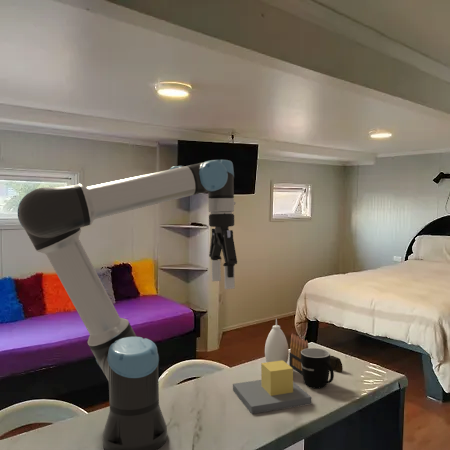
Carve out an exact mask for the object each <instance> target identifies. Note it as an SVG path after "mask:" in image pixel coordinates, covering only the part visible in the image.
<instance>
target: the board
mask: <svg viewBox="0 0 450 450" xmlns="http://www.w3.org/2000/svg"><path fill="white" fill-rule="evenodd" d="M232 391H233V392H234V394H235V395H236V396H237V397H238V399H239V400H240V401H241V403H242V404H243V405H244V406H245V408H246V409H247V411H249V413H250V415H253V414H255V415H256V414H260V413H265V412H272V410H273V411H279V410H284V408H285V409H291V408H297V407H300V406H301V407H302V406H307V405H312V396H311V395H310V394H308V393H307V391H305V390H304V389H303V388H301V387H300V386H299V385H298V384H297V383H296V382H295V381H293V392H292V393H286V394H279V395H273V396H270V394H269V393H268V392H267V391H266V390H265V389H264V388H263V387H262V381H261V379H257V380H250V381H244V382H236V383H232ZM290 407H291V408H290ZM278 409H279V410H278Z"/></svg>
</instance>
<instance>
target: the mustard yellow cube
mask: <svg viewBox="0 0 450 450" xmlns="http://www.w3.org/2000/svg"><path fill="white" fill-rule="evenodd" d="M260 365H261V367H260V369H261V371H260V372H261V374H260V376H261V379H260V380H261V381H262V387H263V388H264V389H265V390H266V391H267V392H268V393H269V394H270V396H273V395H279V394H286V393H292V392H293V382H294V369H293V368H292V367H291V366H289V364H288V362H287V363H285V362H284V361H283V360H282V361H274V362H266V361H265V362H261V364H260Z"/></svg>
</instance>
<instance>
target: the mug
mask: <svg viewBox="0 0 450 450" xmlns="http://www.w3.org/2000/svg"><path fill="white" fill-rule="evenodd" d="M330 356H331V353H330V351H329V350H327V349H323V348H319V347H308V349H304V350H302V351H301V367H302V374H303V375H302V380H303V382H304V385H305V386H306V387H308V388H310V389H316V390H317V389H323V388H325V387H326V386H327V385H328V384H330V383H332V382H333V381H334V378H335V373H334V372H335V371H333V369H332V367H331V365H330ZM329 377H330V378H329Z"/></svg>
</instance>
